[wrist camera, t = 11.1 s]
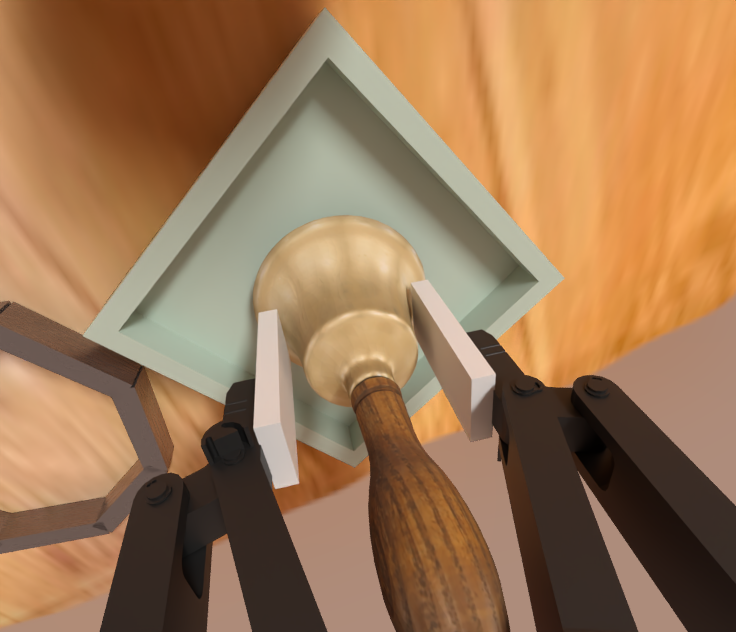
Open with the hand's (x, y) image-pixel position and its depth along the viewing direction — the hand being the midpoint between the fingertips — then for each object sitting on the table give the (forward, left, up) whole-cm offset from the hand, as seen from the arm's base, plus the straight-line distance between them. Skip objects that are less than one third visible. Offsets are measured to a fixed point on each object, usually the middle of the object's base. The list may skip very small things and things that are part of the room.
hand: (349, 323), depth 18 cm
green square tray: (0, 0, -5) cm, 5 cm away
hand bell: (0, 0, -3) cm, 3 cm away
